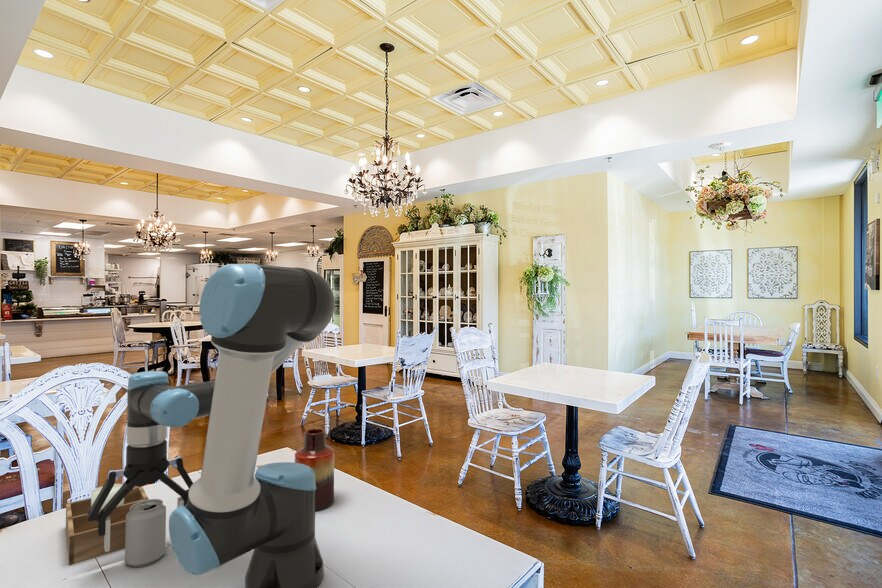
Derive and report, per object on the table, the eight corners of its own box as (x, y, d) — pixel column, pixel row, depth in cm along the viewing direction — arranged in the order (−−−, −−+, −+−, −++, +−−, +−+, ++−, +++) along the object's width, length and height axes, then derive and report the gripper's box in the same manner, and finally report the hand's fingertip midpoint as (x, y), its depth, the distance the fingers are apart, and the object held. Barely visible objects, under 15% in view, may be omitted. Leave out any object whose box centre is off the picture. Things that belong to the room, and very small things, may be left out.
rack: (155, 543, 103) (155, 513, 103) (68, 570, 93) (69, 536, 93) (141, 511, 118) (141, 485, 119) (65, 532, 108) (66, 503, 108)
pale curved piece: (125, 526, 109) (126, 489, 109) (91, 535, 105) (92, 497, 105) (122, 516, 114) (122, 481, 114) (89, 524, 110) (90, 488, 110)
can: (145, 571, 93) (146, 513, 93) (115, 566, 94) (116, 510, 94) (173, 551, 100) (174, 498, 100) (145, 547, 102) (146, 495, 102)
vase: (324, 513, 118) (324, 437, 118) (286, 510, 120) (287, 435, 120) (339, 496, 128) (340, 426, 129) (305, 493, 130) (305, 424, 130)
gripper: (204, 427, 109) (202, 513, 109) (73, 449, 92) (71, 551, 92) (213, 434, 103) (211, 525, 103) (75, 460, 86) (72, 567, 86)
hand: (145, 537), depth 97 cm, fingers open, 13 cm apart
